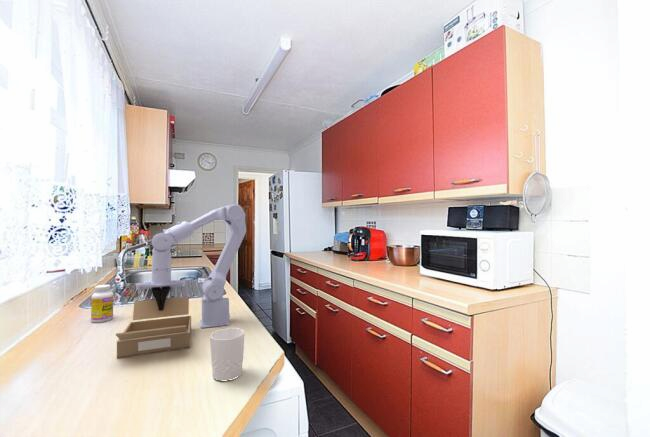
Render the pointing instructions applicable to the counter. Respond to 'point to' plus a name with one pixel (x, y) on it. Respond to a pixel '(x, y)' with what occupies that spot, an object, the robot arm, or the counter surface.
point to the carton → (155, 337)
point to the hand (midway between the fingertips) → (161, 309)
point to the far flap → (171, 308)
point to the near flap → (151, 332)
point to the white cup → (227, 353)
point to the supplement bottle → (102, 304)
